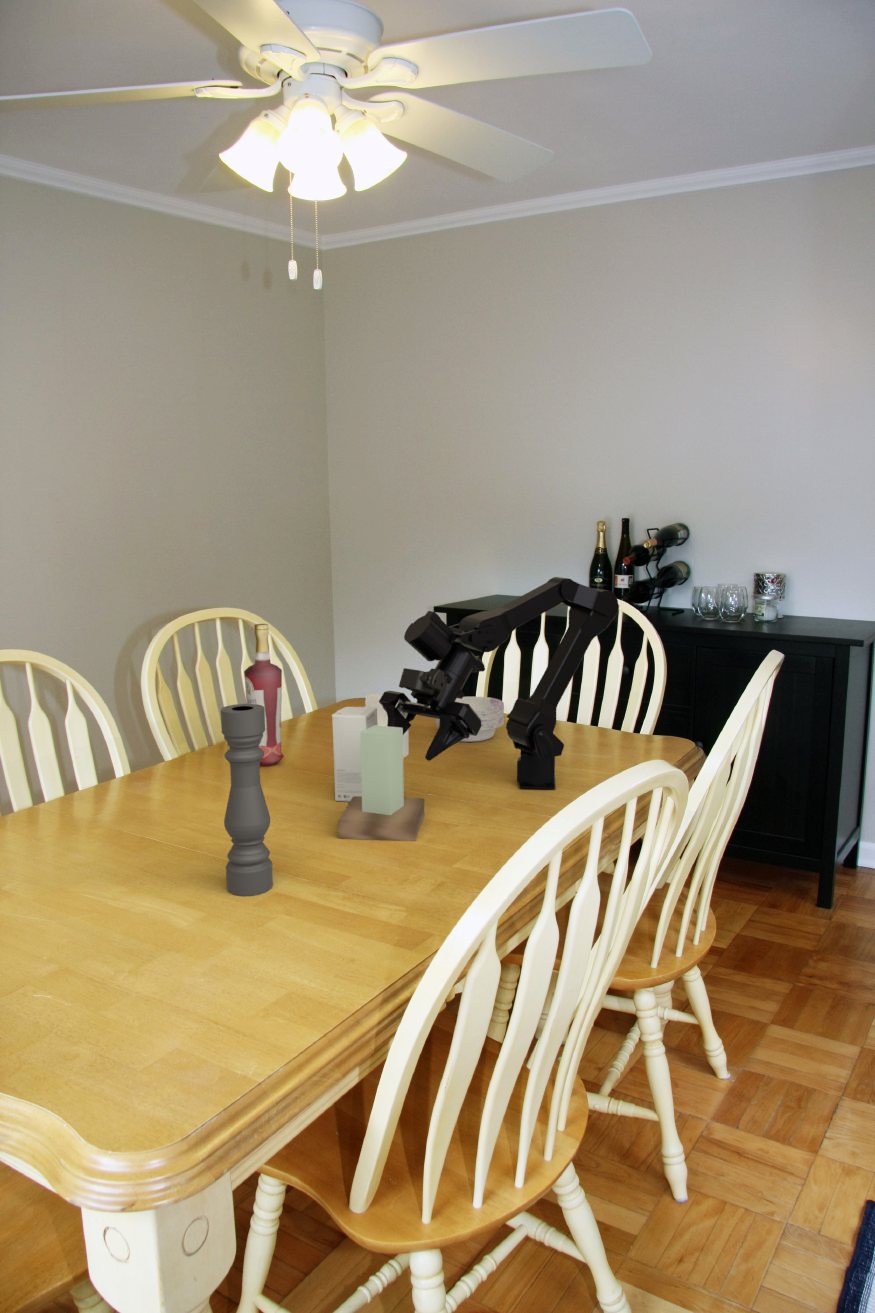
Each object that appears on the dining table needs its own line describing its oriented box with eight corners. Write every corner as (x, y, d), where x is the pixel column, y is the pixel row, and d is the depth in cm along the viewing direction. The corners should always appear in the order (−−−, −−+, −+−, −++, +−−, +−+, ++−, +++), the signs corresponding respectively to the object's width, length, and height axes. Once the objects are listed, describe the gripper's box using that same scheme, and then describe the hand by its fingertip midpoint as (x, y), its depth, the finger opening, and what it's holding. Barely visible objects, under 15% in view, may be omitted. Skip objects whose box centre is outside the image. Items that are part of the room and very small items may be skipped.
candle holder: (251, 899, 126) (243, 715, 122) (217, 890, 129) (208, 710, 125) (282, 883, 131) (276, 706, 127) (248, 874, 134) (241, 701, 130)
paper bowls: (431, 730, 217) (431, 696, 215) (497, 728, 218) (497, 694, 217) (438, 747, 202) (438, 711, 201) (509, 745, 203) (509, 708, 202)
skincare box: (368, 804, 165) (366, 716, 162) (331, 801, 166) (329, 714, 164) (380, 789, 173) (379, 705, 171) (346, 787, 174) (343, 704, 172)
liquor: (291, 764, 190) (286, 625, 185) (257, 770, 186) (251, 628, 181) (275, 756, 196) (270, 621, 191) (242, 762, 192) (236, 624, 187)
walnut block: (424, 815, 159) (424, 798, 158) (415, 841, 147) (415, 822, 147) (353, 813, 160) (353, 796, 160) (338, 838, 148) (338, 820, 148)
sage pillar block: (403, 805, 154) (402, 727, 152) (390, 815, 150) (389, 735, 148) (376, 802, 156) (374, 725, 154) (362, 811, 152) (360, 732, 150)
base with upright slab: (417, 751, 198) (416, 695, 196) (392, 762, 191) (391, 703, 189) (382, 746, 203) (381, 691, 201) (356, 755, 196) (355, 698, 194)
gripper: (385, 644, 163) (340, 719, 157) (469, 655, 151) (424, 736, 145) (416, 682, 170) (375, 755, 164) (500, 695, 158) (458, 774, 152)
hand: (406, 754), depth 156 cm, fingers open, 9 cm apart
